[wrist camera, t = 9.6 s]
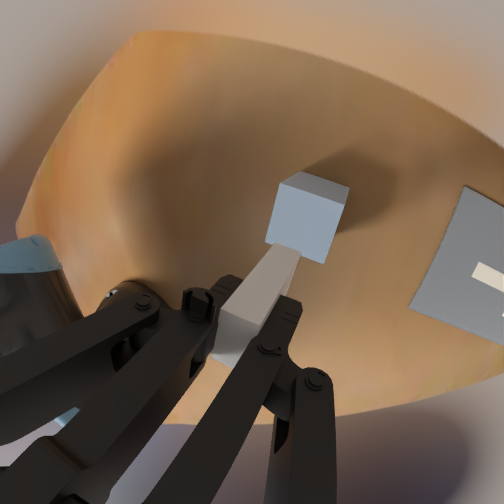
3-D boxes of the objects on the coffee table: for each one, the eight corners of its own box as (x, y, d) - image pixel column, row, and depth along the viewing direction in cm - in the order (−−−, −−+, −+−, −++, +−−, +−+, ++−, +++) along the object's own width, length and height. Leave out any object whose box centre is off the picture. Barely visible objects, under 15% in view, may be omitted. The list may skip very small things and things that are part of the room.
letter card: (407, 306, 28) (408, 308, 28) (463, 185, 21) (464, 186, 21) (513, 348, 24) (514, 350, 24) (569, 253, 17) (570, 254, 17)
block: (287, 217, 30) (264, 242, 24) (300, 170, 27) (279, 182, 21) (334, 234, 28) (323, 264, 23) (350, 187, 26) (344, 205, 20)
